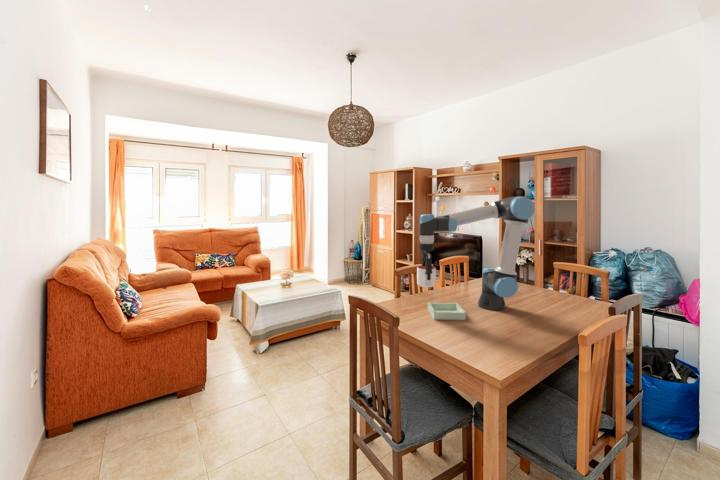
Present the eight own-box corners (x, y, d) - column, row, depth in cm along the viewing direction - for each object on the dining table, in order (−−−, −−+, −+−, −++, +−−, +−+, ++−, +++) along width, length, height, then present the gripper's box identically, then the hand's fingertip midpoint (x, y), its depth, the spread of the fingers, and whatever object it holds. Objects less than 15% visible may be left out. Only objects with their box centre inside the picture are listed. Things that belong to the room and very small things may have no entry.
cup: (435, 288, 173) (435, 269, 172) (416, 287, 175) (416, 269, 174) (435, 283, 183) (435, 266, 182) (417, 282, 185) (417, 265, 184)
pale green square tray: (456, 309, 187) (456, 302, 186) (465, 320, 171) (465, 311, 170) (427, 309, 187) (427, 302, 186) (433, 319, 171) (434, 311, 170)
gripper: (416, 240, 188) (416, 278, 190) (423, 245, 165) (423, 288, 168) (429, 240, 188) (429, 278, 190) (438, 245, 165) (437, 288, 168)
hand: (426, 283), depth 179 cm, fingers closed on cup, 10 cm apart
